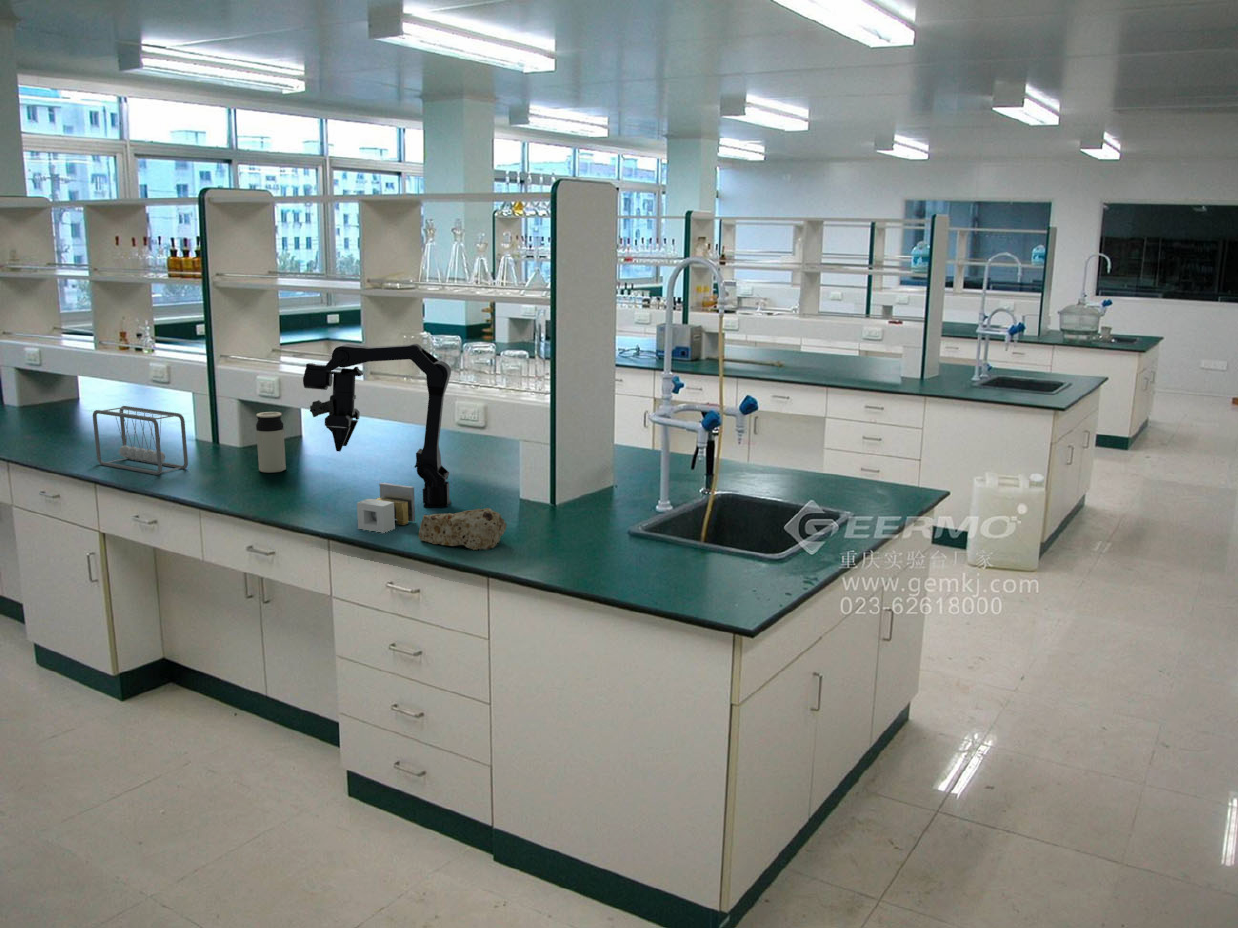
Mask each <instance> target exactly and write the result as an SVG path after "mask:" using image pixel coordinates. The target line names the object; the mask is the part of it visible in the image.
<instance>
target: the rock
mask: <svg viewBox="0 0 1238 928" xmlns="http://www.w3.org/2000/svg"><path fill="white" fill-rule="evenodd" d="M506 529H507V522H505V519H503V518H502V516H501V513H500V512H497V511H495V510H493V509H492V508H490V507H485V508H483V509H482V508H474V509H468V510H464V511H461V512H460V511H459V512H456V513H452V512H449V513H434V514H428V515H427V514H426V513H425V514H424V515H423V517H422V520H421V522H420V527H419V531H418V539H419V540H420V541H421V542H422V541H425V543H426V542H427V543H430V544H433V545H438V544H439V545H441V546H451V547H455V546H456V547H457V546H464V547H465V548H468V549H470V550H473V551H477V550H478V549H479V550H481V549H484V550H491V549H490V548H492V549H494V548H495V547H496V546H497V545H498V544H497V543H500V539H501V537H502V536H503V535H504V534H505V532H506ZM479 550H478V551H479Z"/></svg>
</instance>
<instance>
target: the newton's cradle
mask: <svg viewBox="0 0 1238 928" xmlns="http://www.w3.org/2000/svg"><path fill="white" fill-rule="evenodd" d="M114 410H119V411H114ZM131 412H134V413H135V414H134V413H131ZM130 413H131V414H130ZM140 413H142V414H141V415H139V414H140ZM143 413H144V414H143ZM98 414H99V415H105V416H113V417H115V420H116V423H117V427H118V431H119V434H120V438H121V443H122V446H120V448H119V450H118V454H119V455H120V456H121V457H123V458H121V459H115V460H111V461H103V459H102V455H101V446H100V437H99V425H98ZM149 414H150V416H146V415H149ZM154 415H155V416H154ZM156 416H159V417H156ZM117 417H119V422H118V418H117ZM173 417H177V418H179V420H180V427H181V428H180V429H181V442H182V455H183V465H182V464H178V463H177V464H175V463H170V462H164V461H165V460H166V454H165V453H164V451H161V437H160V432H161V431H162V430H161V426H162V425H161V424H162V421H160V424H159V423H158V420H162V419H168V418H173ZM125 418H126V419H131V421H132V425H133V428H134V434H135V435H134V437H133V444H136V443H135V442H136V441H135V439H136V440H137V443H138V447H139V448H138V447H136V446H135V445H132V442H131V438H130V434H129V433H130V432H129V430H128V428H129V427H128V425H129V421H127V423H126V420H125ZM134 420H139V421H140V426H141V430H142V434H143V437H142V439H141V440H142V441H141V446H143V444H144V443H143V442H144V440H145V444H146V448H147V449H146V448H143V447H141V446H140V443H139V439H138V435H137V432H136V428H137V421H135V424H134ZM141 421H144V422H145V421H147V422H148V425H149V426H148V427H149V429H150V436H151V437H152V439H153V443H154V446H155V448H156V449H155V450H156V451H155V450H153V449H151V447H152V446H151V445H152V440H150V441H149V442H150V443H149V447H148V442H147V438H146V436H145V433H144V430H145V424H142V422H141ZM92 422H93V432H94V444H95V452H96V453H95V454H96V460H97V462H98V464H100V465H101V466H104V467H110V468H111V467H112V468H115V469H123V470H126V471H133V472H137V473H138V472H139V473H143V474H147V475H148V474H149V475H155V476H160V475H161V473H167V472H171V471H172V472H173V471H175V470H186V469H187V468H188V464H189V457H188V446H187V437H186V435H187V434H186V433H187V432H186V421H185V417H184V416H183V415H182V414H181V413H179V412H171V411H164V410H157V409H150V408H144V407H137V406H127V405H122V406H120V407H115V408H110V409H103V410H101V409H95V410H94V411H93V413H92ZM150 422H151V423H152V424H153V426H154V427H152V426H151V424H150ZM119 423H120V425H119ZM159 425H160V426H159ZM153 428H154V434H153ZM126 433H127V434H126ZM154 437H155V438H154ZM127 438H128V439H129V442H130V446H129V445H127V440H128V439H127ZM125 460H128V461H129V460H130V461H133V460H135V462H139V461H141V462H140V463H145V462H146V463H147V464H152V465H156V466H157V470H151V469H145V468H141V467H134V466H129V465H125V464H124V465H123V464H119V463H114V462H120V461H125ZM146 463H145V464H146ZM163 467H168V468H171V469H166V470H163ZM173 467H174V468H173Z"/></svg>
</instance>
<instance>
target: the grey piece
mask: <svg viewBox="0 0 1238 928" xmlns="http://www.w3.org/2000/svg"><path fill="white" fill-rule="evenodd" d="M379 498H385V499H392V500H399V501H405V502H408V522H412V523H413V522H414V521H416V513H415V509H416V507H415V487H414V486H407V485H403V484H402V485H401V484H396V483H395V484H394V483H388V482H380V483H379ZM371 517H372V519H373V520H374V521H376V522H377V512H373V511H372V513H371ZM394 517H395V520H396V506H394Z"/></svg>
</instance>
